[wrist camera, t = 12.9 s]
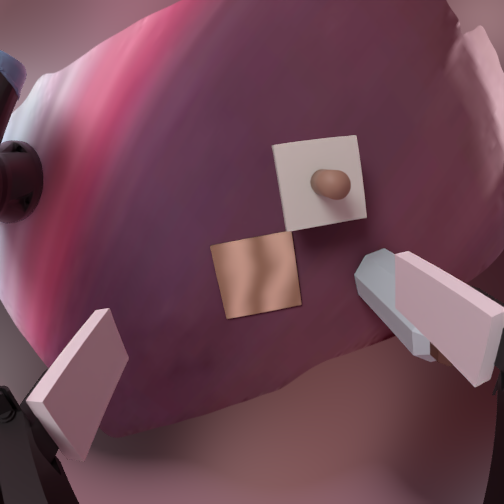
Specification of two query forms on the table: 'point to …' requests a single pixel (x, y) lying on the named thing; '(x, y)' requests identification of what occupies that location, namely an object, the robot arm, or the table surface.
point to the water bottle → (391, 304)
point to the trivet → (257, 274)
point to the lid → (320, 182)
